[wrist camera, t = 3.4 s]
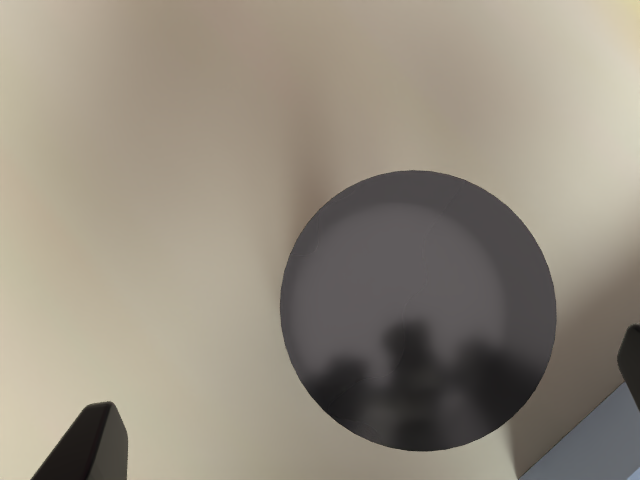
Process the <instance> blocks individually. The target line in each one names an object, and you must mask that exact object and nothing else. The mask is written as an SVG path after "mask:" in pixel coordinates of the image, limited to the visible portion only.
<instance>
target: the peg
mask: <svg viewBox="0 0 640 480" xmlns="http://www.w3.org/2000/svg"><path fill="white" fill-rule="evenodd" d="M280 315H281V327H282V332H283V337H284V342H285V346H286V349H287V352H288V354H289V357H290V360H291V363H292V365H293V367H294V369H295V371H296V373H297V375H298V377H299V379H300V381H301V382H302V384H303V385H304V387H305V388H306V390H307V391H308V393H309V394H310V395H311V397H312V398H313V399H314V400H315V401H316V402H317V403H318V405H319V406H320V407H321V408H322V409H323V410H324V411H325V412H326V413H327V414H328V415H330V416H331V417H332V418H333V419H334V420H335V421H337V422H338V423H339V424H341V425H342V426H344V427H345V428H347V429H348V430H350V431H351V432H353V433H354V434H356V435H359V436H361V437H363V438H365V439H367V440H369V441H371V442H374V443H377V444H380V445H383V446H387V447H390V448H395V449H401V450H407V451H436V450H446V449H450V448H454V447H458V446H462V445H465V444H468V443H470V442H473V441H475V440H478V439H480V438H482V437H484V436H486V435H487V434H489V433H491V432H493V431H494V430H496V429H498V428H499V427H500V426H501V425H503V424H504V423H505V422H507V421H508V420H509V419H510V418H512V417H513V416H514V415H515V414H516V413H517V412H518V411H519V409H520V408H521V407H522V406H523V405H524V404H525V403H526V402H527V400H528V399H529V398H530V396H531V395H532V393H533V392H534V391H535V389H536V387H537V386H538V384H539V382H540V380H541V378H542V376H543V374H544V372H545V370H546V367H547V364H548V362H549V359H550V356H551V352H552V348H553V344H554V340H555V331H556V321H557V320H556V299H555V292H554V286H553V282H552V278H551V275H550V271H549V268H548V265H547V263H546V260H545V258H544V256H543V253H542V251H541V249H540V247H539V246H538V244H537V242H536V240H535V239H534V237H533V235H532V234H531V233H530V231H529V230H528V229H527V227H526V226H525V225H524V223H523V222H522V221H521V220H520V219H519V217H518V216H517V215H516V214H515V213H514V212H513V211H512V210H511V209H510V208H509V207H508V206H506V205H505V204H504V203H503V202H501V201H500V200H499V199H498V198H496V197H495V196H494V195H492V194H490V193H489V192H487V191H486V190H484V189H482V188H481V187H479V186H477V185H474V184H472V183H470V182H468V181H466V180H463V179H460V178H457V177H454V176H451V175H448V174H442V173H437V172H431V171H416V170H411V171H397V172H391V173H386V174H381V175H377V176H374V177H371V178H369V179H366V180H363V181H361V182H359V183H357V184H355V185H353V186H351V187H349V188H347V189H345V190H344V191H342V192H341V193H339V194H338V195H336V196H335V197H333V198H332V199H331V200H330V201H329V202H327V203H326V204H325V205H324V206H323V207H322V208H321V209H319V211H318V212H317V213H316V214H315V215H314V216H313V217H312V219H311V220H310V221H309V222H308V223H307V225H306V226H305V228H304V229H303V231H302V232H301V234H300V236H299V237H298V239H297V241H296V243H295V245H294V247H293V249H292V251H291V253H290V256H289V259H288V262H287V265H286V268H285V271H284V276H283V282H282V287H281V299H280Z"/></svg>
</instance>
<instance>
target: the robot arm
mask: <svg viewBox="0 0 640 480" xmlns="http://www.w3.org/2000/svg"><path fill="white" fill-rule="evenodd" d="M617 361H618V366H619V369H620V372H621V374H622V376H623V378H624V380H625V382H626V384H627V387H628V389H629V391H630V393H631V395H632V397H633V399H634V402H635V404H636V406H637V408H638V410H639V412H640V323H636V324H632V325H630V326H629V327H628V329H627V331H626V333H625V336H624V339H623V341H622V344H621V347H620V349H619V352H618V356H617ZM127 460H128V435H127V431H126V428H125V426H124V424H123V421H122V419H121V417H120V414H119V412H118V410H117V408H116V406H115V404H114V403H113V402H111V401H107V402H100V403H93V404H89V405H87V406H86V407H85V408H84V409H83V410H82V412H81V413H80V414H79V416H78V417H77V418H76V420H75V421H74V422H73V424H72V425H71V426H70V428H69V429H68V430H67V432H66V433H65V434H64V436H63V437H62V438H61V440H60V441H59V442H58V444H57V445H56V446H55V448H54V449H53V450H52V452H51V453H50V454H49V456H48V457H47V458H46V460H45V461H44V462H43V464H42V465H41V466H40V468H39V469H38V470H37V472H36V473H35V474H34V476H33V477H32V478H31V480H127Z"/></svg>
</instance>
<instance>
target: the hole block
mask: <svg viewBox="0 0 640 480" xmlns="http://www.w3.org/2000/svg"><path fill="white" fill-rule="evenodd" d="M518 480H640V412H639V410H638V408H637V406H636V404H635V402H634V399H633V397H632V395H631V393H630V391H629V389H628V387H627V384H626V382H624V383H622V384H621V385H620V386H619V387H618V388H617V389H616V390H615V391H614V392H613V393H612V394H611V395H609V396H608V397H607V398H606V399H605V400H604V401H603V402H602V403H601V404H600V405H599V406H598V407H596V408H595V409H594V410H593V411H592V412H591V413H590V414H589V415H588V416H587V417H586V418H584V419H583V420H582V421H581V422H580V423H579V424H578V425H577V426H576V427H575V428H574V429H573V430H571V431H570V432H569V433H568V434H567V435H566V436H565V437H564V438H563V439H562V440H561V441H560V442H558V443H557V444H556V445H555V446H554V447H553V448H552V449H551V450H550V451H549V452H548V453H547V454H545V455H544V456H543V457H542V458H541V459H540V460H539V461H538V462H537V463H536V464H535V465H533V466H532V467H531V468H530V469H529V470H528V471H527V472H526V473H525V474H524V475H523V476H522V477H520V478H519V479H518Z"/></svg>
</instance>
